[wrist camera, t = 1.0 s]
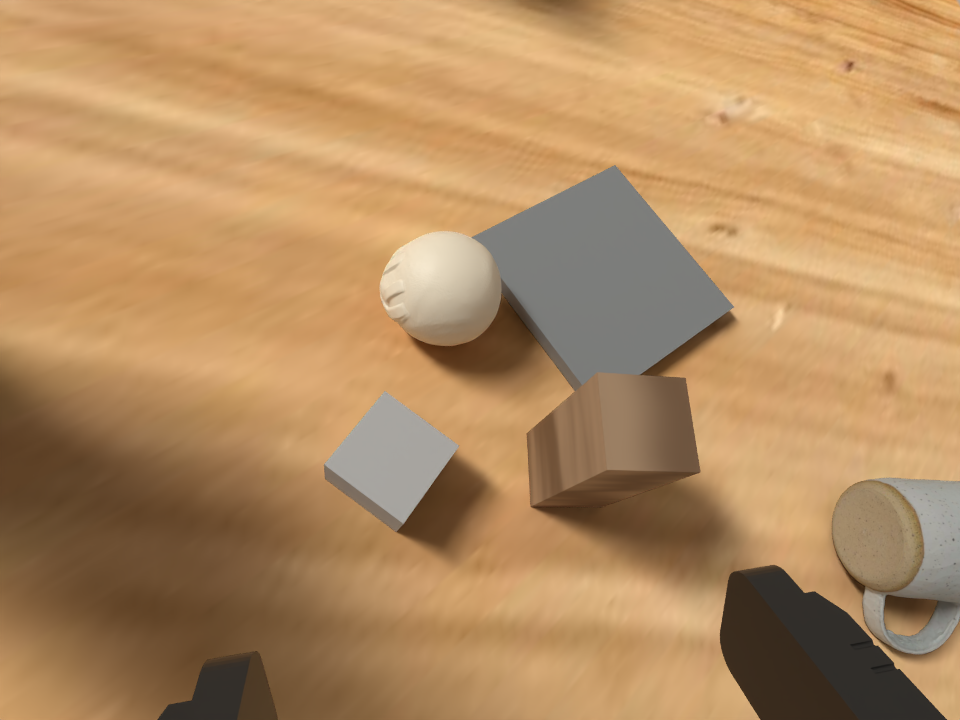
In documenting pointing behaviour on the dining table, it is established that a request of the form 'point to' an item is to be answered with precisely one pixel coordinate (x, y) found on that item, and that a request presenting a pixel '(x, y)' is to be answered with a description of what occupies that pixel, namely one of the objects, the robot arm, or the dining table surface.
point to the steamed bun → (442, 288)
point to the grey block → (389, 461)
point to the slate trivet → (601, 279)
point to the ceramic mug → (903, 552)
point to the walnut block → (612, 441)
